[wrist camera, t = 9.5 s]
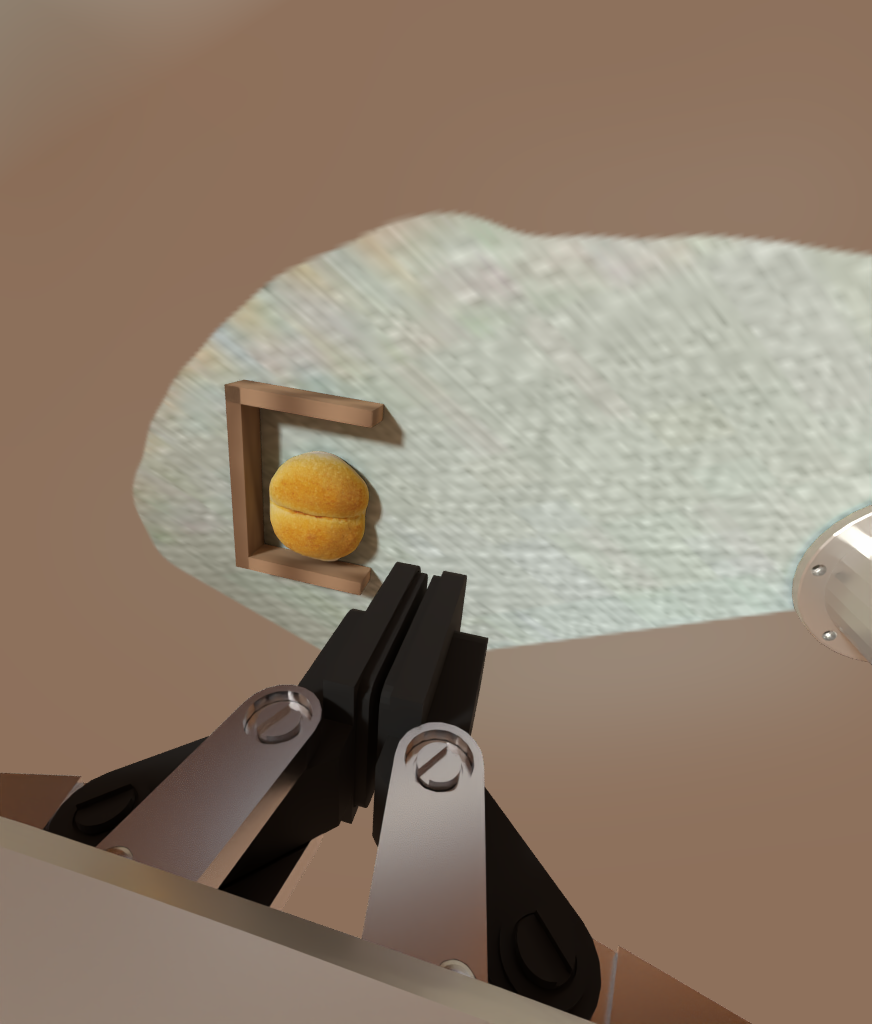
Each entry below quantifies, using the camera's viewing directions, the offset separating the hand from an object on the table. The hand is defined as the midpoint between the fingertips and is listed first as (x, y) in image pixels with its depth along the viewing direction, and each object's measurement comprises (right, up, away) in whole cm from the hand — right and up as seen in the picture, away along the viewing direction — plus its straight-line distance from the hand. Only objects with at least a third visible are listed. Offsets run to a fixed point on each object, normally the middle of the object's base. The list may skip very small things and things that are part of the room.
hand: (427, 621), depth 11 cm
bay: (-9, +5, +27) cm, 29 cm away
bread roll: (-9, +3, +28) cm, 30 cm away
